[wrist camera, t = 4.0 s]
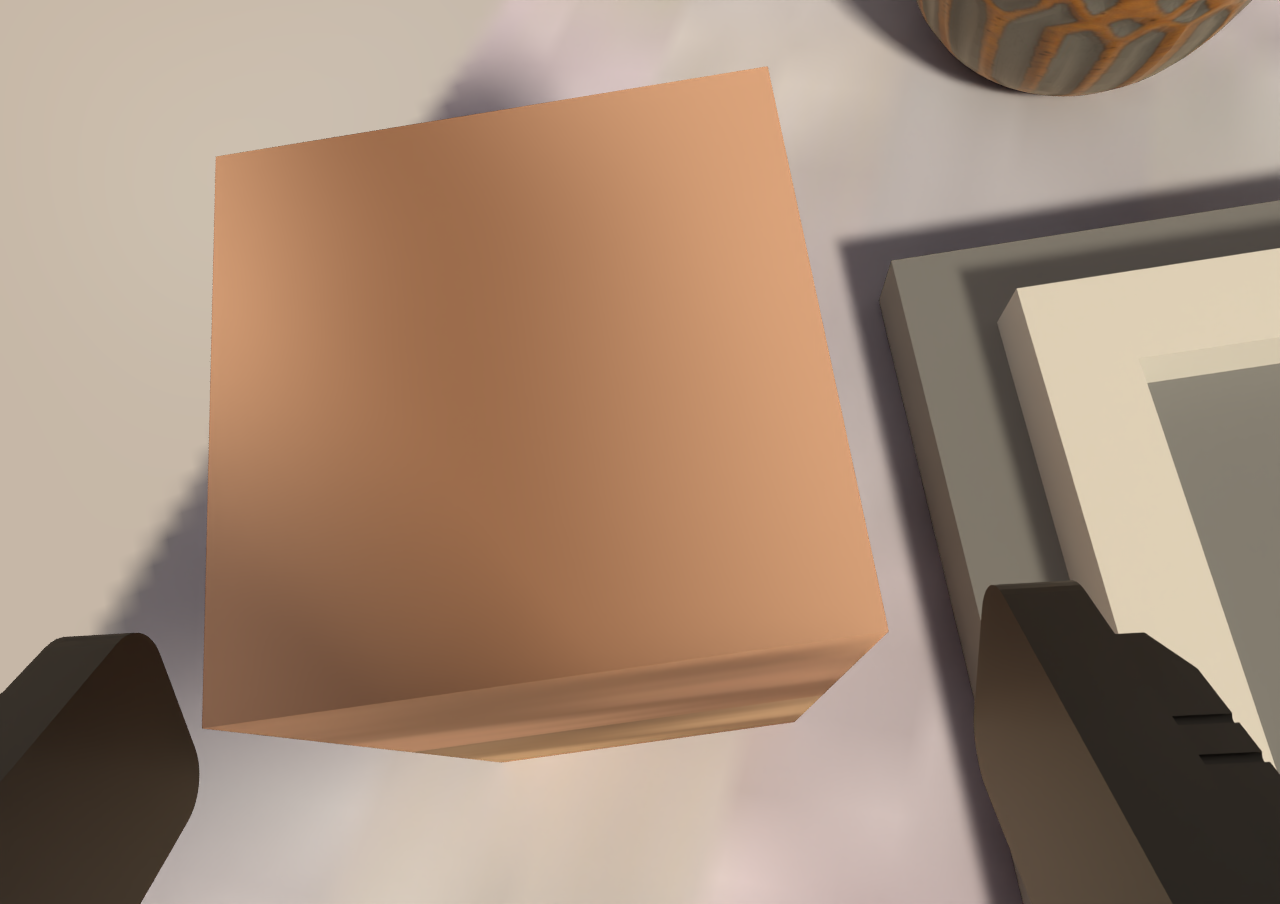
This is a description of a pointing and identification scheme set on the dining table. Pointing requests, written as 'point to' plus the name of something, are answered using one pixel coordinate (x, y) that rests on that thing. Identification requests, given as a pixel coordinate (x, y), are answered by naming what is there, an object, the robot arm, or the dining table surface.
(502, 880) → the dining table surface
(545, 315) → the copper rectangular block
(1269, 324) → the pocket board
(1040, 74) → the vase
